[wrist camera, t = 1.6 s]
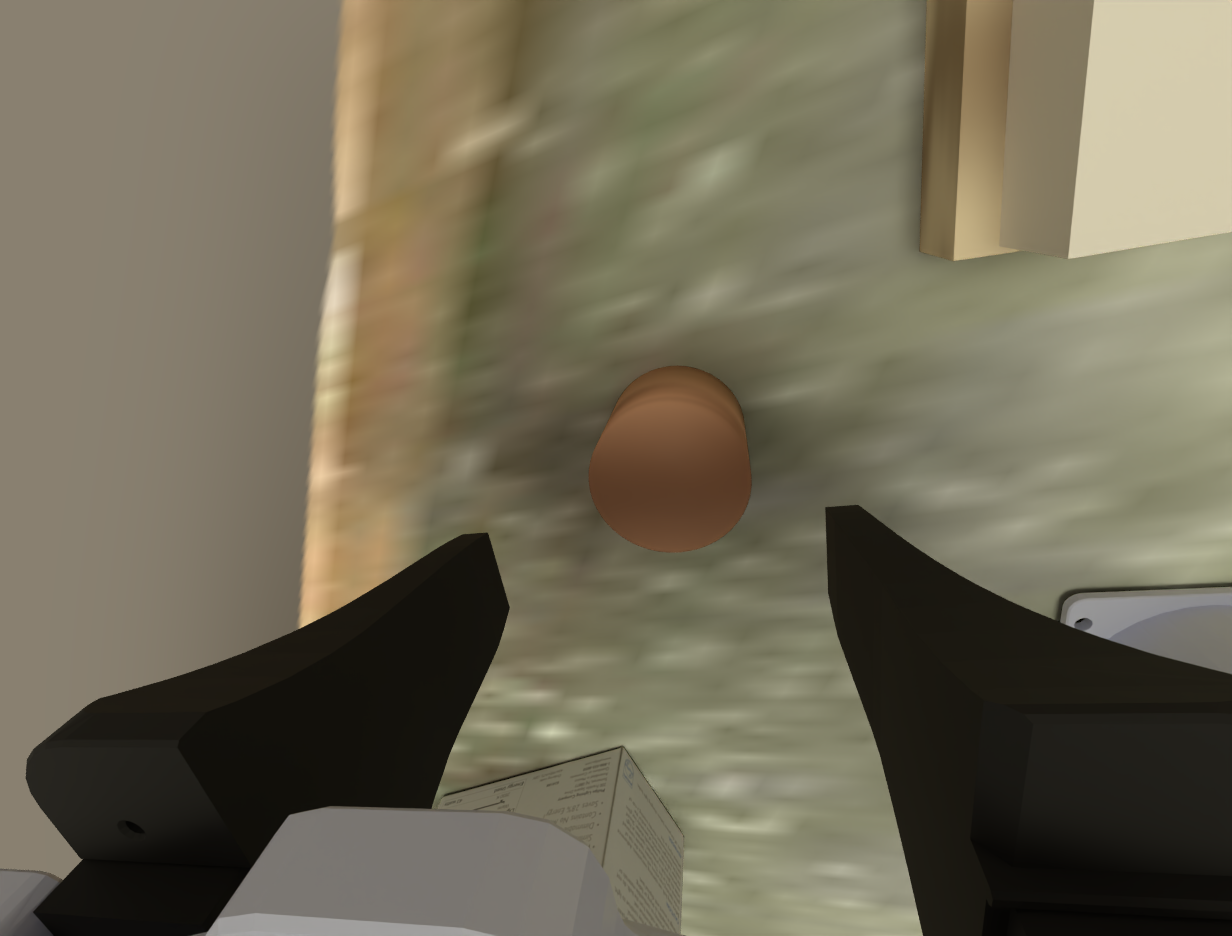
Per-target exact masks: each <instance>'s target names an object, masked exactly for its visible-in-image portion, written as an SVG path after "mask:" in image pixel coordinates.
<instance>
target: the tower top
mask: <svg viewBox="0 0 1232 936" xmlns="http://www.w3.org/2000/svg"><path fill="white" fill-rule="evenodd" d="M1227 232H1232V0H1013V11H1012V28H1011V46H1010V63H1009V81H1008V99H1007V116H1006V134H1005V151H1004V169H1003V187H1002V205H1001V222H1000V240H999V246H1000V247H1006V248H1011V249H1017V250H1022V251H1028V252H1033V253H1039V254H1044V255H1049V256H1055V257H1060V258H1066V259H1071V258H1077V257H1083V256H1089V255H1095V254H1101V253H1107V252H1113V251H1119V250H1125V249H1131V248H1137V247H1143V246H1149V245H1155V244H1161V243H1167V242H1173V241H1179V240H1185V239H1191V238H1197V237H1203V236H1209V235H1215V234H1221V233H1227Z"/></svg>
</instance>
